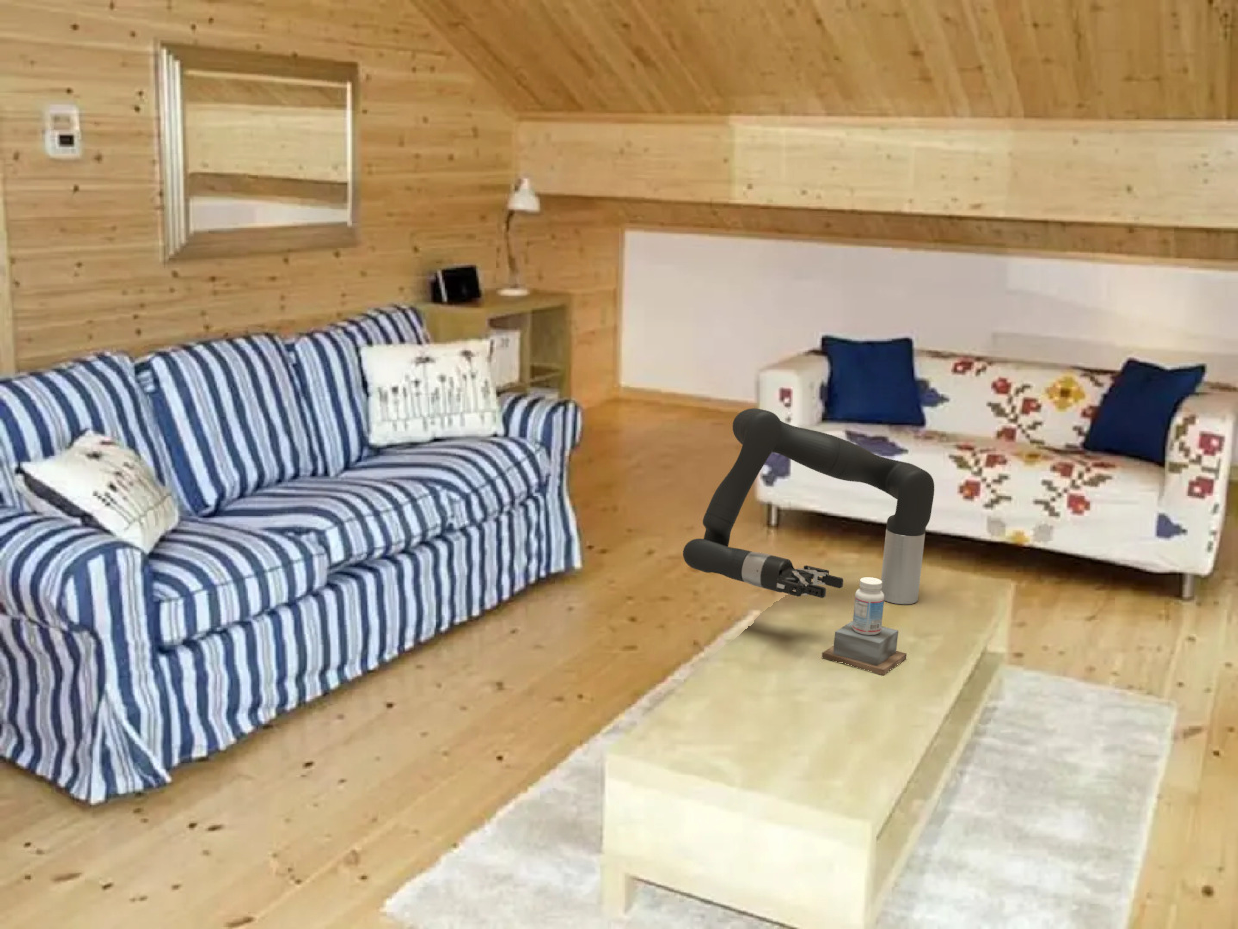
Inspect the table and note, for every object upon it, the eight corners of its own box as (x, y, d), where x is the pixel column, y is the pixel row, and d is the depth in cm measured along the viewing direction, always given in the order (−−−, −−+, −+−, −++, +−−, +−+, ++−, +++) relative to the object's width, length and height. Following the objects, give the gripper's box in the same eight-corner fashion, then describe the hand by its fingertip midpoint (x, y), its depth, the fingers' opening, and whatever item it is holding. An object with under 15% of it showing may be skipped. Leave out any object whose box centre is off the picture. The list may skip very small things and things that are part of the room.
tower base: (846, 642, 279) (848, 615, 278) (906, 658, 271) (909, 631, 270) (821, 658, 269) (824, 630, 268) (883, 675, 262) (886, 647, 260)
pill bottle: (879, 627, 272) (884, 577, 269) (882, 637, 266) (887, 586, 263) (850, 624, 272) (855, 574, 270) (852, 634, 266) (857, 584, 264)
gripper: (752, 562, 274) (820, 579, 265) (783, 548, 285) (849, 564, 277) (750, 595, 276) (817, 613, 267) (780, 580, 287) (846, 596, 278)
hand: (833, 588), depth 272 cm, fingers open, 8 cm apart
